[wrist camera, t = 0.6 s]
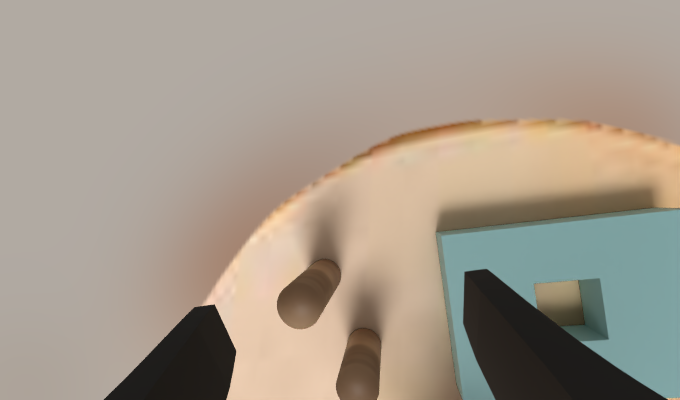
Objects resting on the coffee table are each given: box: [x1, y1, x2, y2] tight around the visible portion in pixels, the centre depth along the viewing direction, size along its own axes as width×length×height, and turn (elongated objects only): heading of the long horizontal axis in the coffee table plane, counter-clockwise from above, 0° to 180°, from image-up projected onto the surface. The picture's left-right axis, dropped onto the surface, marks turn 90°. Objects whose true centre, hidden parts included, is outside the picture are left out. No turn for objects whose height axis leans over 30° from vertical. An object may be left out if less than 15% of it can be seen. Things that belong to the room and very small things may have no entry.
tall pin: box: [277, 259, 341, 329], centre depth 26 cm, size 3×3×9 cm
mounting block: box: [436, 208, 680, 400], centre depth 26 cm, size 14×18×3 cm
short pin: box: [336, 328, 381, 400], centre depth 27 cm, size 3×3×7 cm
